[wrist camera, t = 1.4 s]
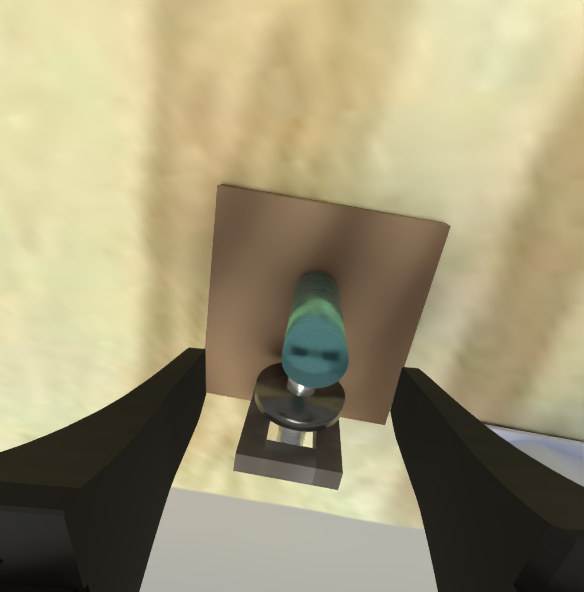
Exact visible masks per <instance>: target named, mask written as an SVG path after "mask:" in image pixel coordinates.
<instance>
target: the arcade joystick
mask: <svg viewBox="0 0 584 592" xmlns="http://www.w3.org/2000/svg"><path fill="white" fill-rule="evenodd" d="M281 360H282V362H281V363H276V364H273V365H270V366H268V367H267V368H265V369H264V370H262V372H261V373H260V374H259V375H258V378H257V381H256V388H255V402H256V405H257V407H258V408H259V410H260V411H261V412H262V414H263V415H264V416H265V417H267V418H268V419H269V420H271V421H272V422H274V423H275V424H277V425H279V429H278V435H277V440H276V442H281V443H287V444H292V445H298V446H303V442H304V437H305V433H306V432H312V431H319V430H323V429H326V428H328V427H330V426H332V425H333V424H335V423H336V422H337V421H338V419H339V418H340V416H341V413H342V409H343V406H344V402H345V392H344V389H343V387H342V385H341V384H340V383H339V380H340V379H341V378H342V377H343V375H344V374H345V372H346V370H347V368H348V364H349V356H348V349H347V342H346V336H345V329H344V322H343V315H342V309H341V302H340V295H339V288H338V285H337V283H336V281H335V280H334V278H332V277H331V276H330V275H329V274H327V273H324V272H320V271H314V272H309V273H307V274H305V275H303V276H302V277H301V278H300V279H299V280H298V282H297V284H296V286H295V291H294V296H293V301H292V306H291V311H290V316H289V321H288V326H287V331H286V335H285V340H284V345H283V350H282V357H281Z"/></svg>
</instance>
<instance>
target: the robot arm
mask: <svg viewBox="0 0 584 592" xmlns="http://www.w3.org/2000/svg"><path fill="white" fill-rule="evenodd" d="M205 396H206V349H198V348H188V349H186V350H185V351H184V352H183V353H181V354H180V355H179V356H178V357H176V358H175V359H174V360H173V361H171V362H170V363H169V364H168V365H166V366H165V367H164V368H163V369H161V370H160V371H159V372H157V373H156V374H155V375H153V376H152V377H151V378H150V379H148V380H147V381H145V382H144V383H142V384H141V385H139V386H138V387H137V388H135V389H134V390H132V391H131V392H129V393H128V394H126V395H125V396H123V397H122V398H120V399H118V400H117V401H115V402H113V403H111V404H110V405H108V406H106V407H104V408H103V409H101V410H99V411H97V412H95V413H93V414H91V415H89V416H87V417H85V418H83V419H81V420H79V421H77V422H75V423H73V424H71V425H69V426H67V427H65V428H62V429H60V430H58V431H55V432H53V433H51V434H48V435H46V436H43V437H41V438H38V439H36V440H33V441H31V442H28V443H26V444H23V445H20V446H17V447H14V448H12V449H9V450H6V451H3V452H0V592H139V591H140V587H141V583H142V580H143V577H144V573H145V569H146V566H147V562H148V559H149V556H150V552H151V549H152V545H153V542H154V539H155V535H156V532H157V529H158V525H159V522H160V519H161V516H162V512H163V509H164V506H165V503H166V500H167V497H168V494H169V490H170V488H171V485H172V482H173V480H174V477H175V475H176V472H177V470H178V468H179V465H180V463H181V461H182V458H183V456H184V454H185V451H186V449H187V447H188V444H189V442H190V440H191V437H192V435H193V432H194V430H195V428H196V425H197V423H198V420H199V417H200V414H201V411H202V407H203V404H204V400H205ZM390 412H391V417H392V422H393V427H394V432H395V437H396V440H397V443H398V446H399V449H400V452H401V455H402V458H403V460H404V463H405V466H406V469H407V472H408V475H409V478H410V481H411V484H412V486H413V489H414V492H415V495H416V498H417V502H418V505H419V508H420V512H421V516H422V520H423V524H424V529H425V533H426V537H427V541H428V546H429V550H430V555H431V560H432V564H433V569H434V573H435V578H436V583H437V589H438V592H584V442H580V441H574V440H569V439H563V438H558V437H552V436H547V435H541V434H536V433H530V432H525V431H519V430H514V429H508V428H503V427H497V426H492V425H486V424H483V423H482V422H481V421H479V420H478V419H477V418H476V417H474V416H473V415H472V414H471V413H469V412H468V411H467V410H466V409H465V408H463V407H462V406H461V405H460V404H459V403H457V402H456V401H455V400H454V399H453V398H452V397H451V396H449V395H448V394H447V393H446V392H445V391H444V390H443V389H442V388H441V387H439V386H438V385H437V384H436V383H435V382H434V381H433V380H432V379H430V378H429V377H428V376H427V375H426V374H425V373H424V372H422V371H421V370H420V369H418V368H407V367H402V369H401V373H400V376H399V380H398V384H397V387H396V391H395V395H394V399H393V402H392V406H391V410H390Z"/></svg>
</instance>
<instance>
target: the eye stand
mask: <svg viewBox="0 0 584 592" xmlns="http://www.w3.org/2000/svg"><path fill="white" fill-rule="evenodd" d="M449 229H450V225H448V224H446V223H442V222H436V221H430V220H425V219H419V218H413V217H407V216H402V215H396V214H390V213H384V212H379V211H373V210H367V209H361V208H356V207H350V206H344V205H338V204H333V203H327V202H321V201H315V200H310V199H304V198H298V197H292V196H287V195H281V194H275V193H269V192H264V191H258V190H252V189H246V188H241V187H235V186H229V185H223V184H221V185H217V198H216V212H215V225H214V238H213V251H212V264H211V278H210V291H209V304H208V317H207V331H206V344H205V349H206V393H212V394H217V395H223V396H228V397H234V398H239V399H245V400H250V401H251V403H250V406H249V409H248V413H247V416H246V420H245V423H244V427H243V430H242V433H241V437H240V440H239V444H238V447H237V451H236V455H235V462H234V470H233V471H238V472H243V473H249V474H254V475H260V476H265V477H271V478H276V479H281V480H287V481H292V482H298V483H303V484H308V485H314V486H319V487H325V488H330V489H335V490H338V488H339V485H340V481H341V478H342V474H343V470H342V456H341V443H340V429H339V419H338V421H337V422H336V423H335V424H333V425H332V426H330V427H328V428H326V429H323V430H319V431H313V448H309V447H303V446H298V445H292V444H287V443H281V442H276V441H271V440H266V439H267V434H268V429H269V424H270V421H271V420H269V419H268V418H267V417H265V416H264V415H263V414H262V412H261V411H260V410H259V408H258V407H257V405H256V402H255V388H256V381H257V378H258V375H259V374H260V373H261V372H262V370H264V369H265V368H267V367H268V366H270V365H273V364H276V363H281V362H282V360H281V357H282V350H283V345H284V340H285V335H286V331H287V326H288V321H289V316H290V311H291V306H292V301H293V296H294V291H295V286H296V284H297V282H298V280H299V279H300V278H301V277H302V276H303V275H305V274H307V273H309V272H314V271H320V272H324V273H327V274H329V275H330V276H331V277H332V278H334V280H335V281H336V283H337V285H338V288H339V295H340V302H341V309H342V315H343V322H344V329H345V336H346V342H347V349H348V356H349V364H348V368H347V370H346V372H345V374H344V375H343V377H342V378H341V379H340V380H339V383H340V384H341V385H342V387H343V389H344V392H345V402H344V406H343V409H342V413H341V416H340V417H344V418H349V419H355V420H360V421H366V422H371V423H377V424H382V425H385V423H386V420H387V417H388V414H389V411H390V408H391V405H392V402H393V398H394V395H395V391H396V387H397V384H398V380H399V376H400V373H401V369H402V367H404V365H405V362H406V359H407V356H408V353H409V350H410V347H411V344H412V341H413V338H414V335H415V332H416V329H417V326H418V323H419V320H420V317H421V314H422V311H423V308H424V305H425V302H426V299H427V296H428V293H429V290H430V287H431V284H432V280H433V277H434V274H435V271H436V268H437V265H438V262H439V259H440V256H441V253H442V250H443V247H444V244H445V241H446V238H447V235H448V232H449Z"/></svg>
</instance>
